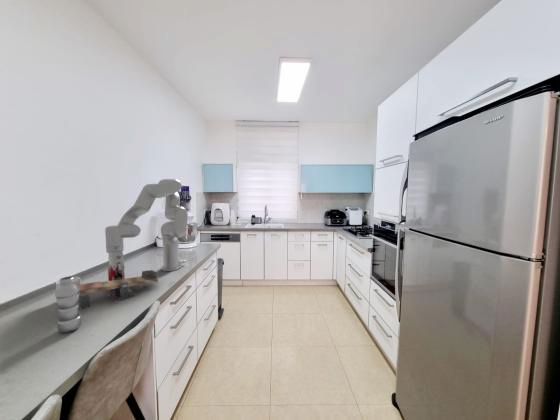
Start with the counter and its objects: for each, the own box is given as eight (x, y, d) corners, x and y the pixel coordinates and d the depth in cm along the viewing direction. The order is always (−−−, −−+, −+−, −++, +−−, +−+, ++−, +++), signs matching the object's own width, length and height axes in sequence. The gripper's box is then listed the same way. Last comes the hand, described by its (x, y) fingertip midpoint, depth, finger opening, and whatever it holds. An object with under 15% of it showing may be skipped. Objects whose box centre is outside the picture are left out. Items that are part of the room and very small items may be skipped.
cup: (52, 306, 97) (50, 284, 97) (71, 293, 109) (70, 274, 108) (73, 304, 99) (72, 283, 98) (90, 292, 111) (89, 273, 110)
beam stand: (126, 288, 116) (125, 274, 115) (135, 295, 108) (134, 281, 107) (76, 302, 101) (75, 287, 100) (83, 312, 93) (81, 295, 92)
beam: (151, 277, 123) (152, 269, 123) (157, 281, 118) (158, 272, 118) (73, 289, 98) (75, 279, 98) (77, 294, 93) (78, 284, 93)
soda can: (116, 289, 115) (115, 267, 114) (105, 287, 116) (104, 266, 115) (128, 283, 122) (127, 263, 121) (117, 282, 123) (116, 262, 122)
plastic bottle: (68, 324, 84) (64, 275, 82) (86, 324, 85) (83, 274, 83) (52, 335, 78) (48, 282, 76) (72, 334, 78) (68, 281, 77)
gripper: (128, 249, 115) (130, 282, 116) (118, 244, 125) (119, 274, 127) (111, 252, 109) (113, 287, 110) (101, 247, 119) (103, 278, 121)
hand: (116, 280), depth 118 cm, fingers closed on soda can, 6 cm apart
